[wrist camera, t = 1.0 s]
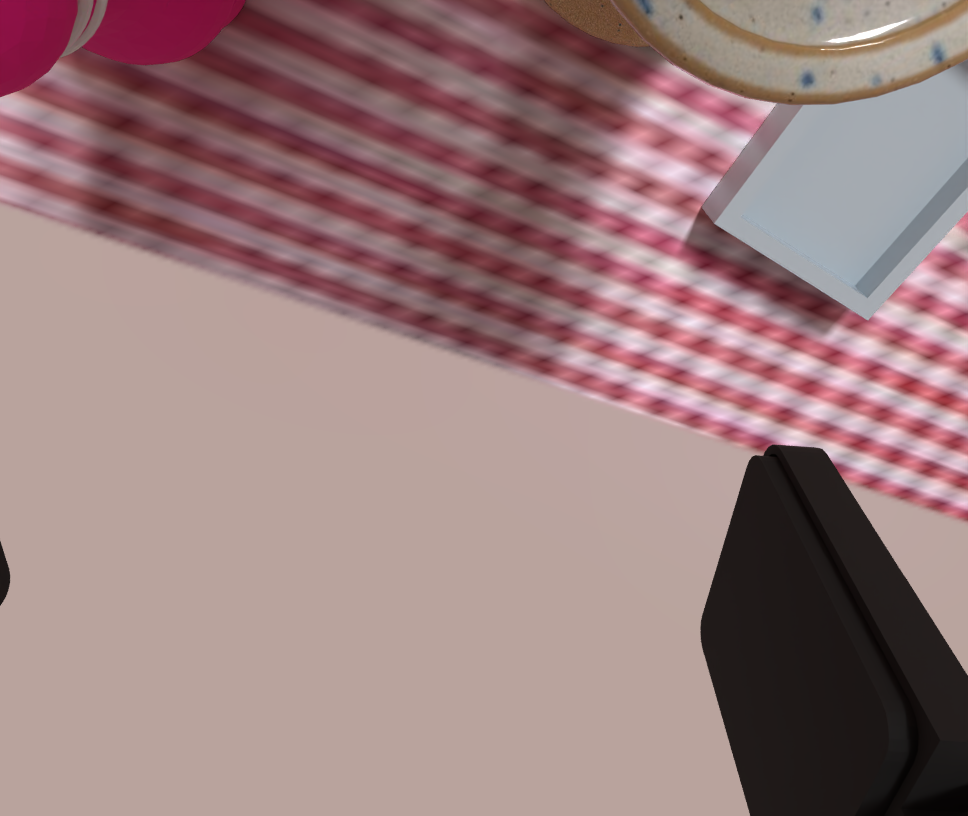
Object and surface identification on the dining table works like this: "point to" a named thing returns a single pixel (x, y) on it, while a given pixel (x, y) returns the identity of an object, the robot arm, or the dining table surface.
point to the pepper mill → (103, 32)
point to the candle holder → (788, 42)
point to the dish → (853, 187)
